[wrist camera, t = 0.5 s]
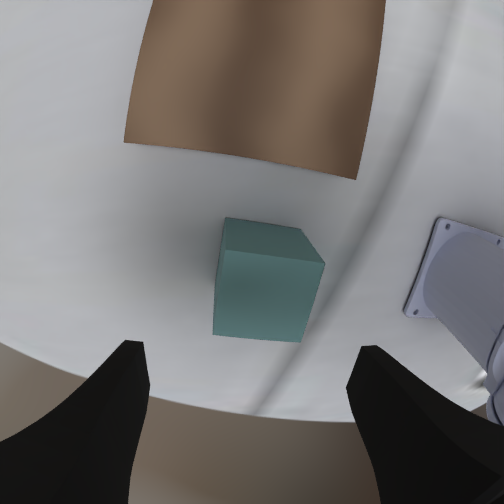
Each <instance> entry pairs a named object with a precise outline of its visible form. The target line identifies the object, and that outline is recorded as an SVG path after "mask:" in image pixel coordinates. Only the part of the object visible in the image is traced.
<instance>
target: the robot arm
mask: <svg viewBox="0 0 504 504" xmlns="http://www.w3.org/2000/svg"><path fill="white" fill-rule="evenodd" d="M446 224H447V227H446V228H445V226H446ZM414 311H415V312H414ZM404 314H405V315H406V316H407V317H417V318H438V319H439V320H440V321H441V322H442V323H443V324H444V325H445V326H446V327H447V329H448V330H449V331H450V332H451V333H452V334H453V335H454V336H455V337H456V338H457V339H458V341H459V342H460V343H461V344H462V345H463V346H464V347H465V348H466V349H467V351H468V352H469V353H470V354H471V355H472V356H473V357H474V359H475V360H476V361H477V362H478V363H479V364H480V365H481V367H482V368H483V369H484V370H485V371H486V373H487V377H486V379H485V381H484V383H483V385H484V386H485V388H486V389H487V390H488V391H489V393H490V396H489V398H488V401H487V409H486V410H487V416H488V420H486V419H484V418H482V417H479V416H477V415H475V414H473V413H471V412H470V411H468V410H466V409H464V408H462V407H461V406H459V405H457V404H455V403H454V402H452V401H450V400H449V399H447V398H446V397H444V396H443V395H441V394H440V393H438V392H437V391H436V390H434V389H433V388H431V387H430V386H429V385H427V384H426V383H425V382H423V381H422V380H421V379H419V378H418V377H417V376H415V375H414V374H413V373H412V372H410V371H409V370H408V369H407V368H405V367H404V366H403V365H402V364H400V363H399V362H398V361H397V360H395V359H394V358H393V357H392V356H390V355H389V354H388V353H387V352H385V351H384V350H383V349H381V348H380V347H378V346H377V345H372V346H361V349H360V352H359V354H358V357H357V360H356V363H355V365H354V368H353V371H352V373H351V376H350V378H349V381H348V383H347V386H346V390H347V394H348V399H349V403H350V407H351V411H352V414H353V416H354V419H355V421H356V424H357V426H358V429H359V432H360V434H361V437H362V438H363V442H364V444H365V446H366V449H367V452H368V454H369V457H370V460H371V463H372V466H373V469H374V472H375V477H376V481H377V486H378V490H379V495H380V501H381V504H504V237H502V236H499V235H496V234H493V233H490V232H487V231H484V230H481V229H478V228H475V227H472V226H469V225H466V224H462V223H459V222H456V221H453V220H449V219H446V218H443V217H441V218H439V219H438V220H437V221H436V224H435V227H434V231H433V234H432V237H431V240H430V243H429V246H428V249H427V252H426V255H425V258H424V260H423V263H422V266H421V269H420V271H419V274H418V277H417V279H416V282H415V285H414V287H413V290H412V292H411V295H410V297H409V299H408V302H407V304H406V307H405V309H404ZM149 391H150V382H149V376H148V370H147V364H146V358H145V351H144V344H143V342H140V341H130V340H125V341H124V342H122V343H121V345H120V346H119V347H118V348H117V349H116V350H115V351H114V352H113V353H112V354H111V355H110V356H109V357H108V358H107V359H106V361H105V362H104V363H103V364H102V365H101V366H100V367H99V368H98V369H97V370H96V371H95V372H94V373H93V374H92V375H91V376H90V377H89V378H88V379H87V380H86V381H85V382H84V383H83V384H82V385H81V386H80V387H79V388H77V389H76V390H75V391H74V392H73V393H72V394H71V395H70V396H69V397H68V398H66V399H65V400H64V401H63V402H62V403H60V404H59V405H58V406H57V407H55V408H54V409H53V410H52V411H50V412H49V413H48V414H46V415H45V416H44V417H42V418H41V419H39V420H38V421H36V422H35V423H33V424H31V425H30V426H28V427H26V428H25V429H23V430H22V431H20V432H18V433H17V434H15V435H13V436H11V437H9V438H7V439H5V440H3V441H1V442H0V504H128V496H129V486H130V476H131V471H132V466H133V461H134V458H135V454H136V450H137V446H138V442H139V438H140V434H141V431H142V427H143V423H144V419H145V415H146V411H147V404H148V398H149Z"/></svg>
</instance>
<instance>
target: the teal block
mask: <svg viewBox="0 0 504 504" xmlns="http://www.w3.org/2000/svg"><path fill="white" fill-rule="evenodd" d="M324 266H325V262H324V261H323V260H322V258H321V257H320V255H319V254H318V253H317V251H316V250H315V248H314V247H313V246H312V244H311V243H310V241H309V240H308V239H307V237H306V236H305V235H304V233H303V232H302V231H301V229H296V228H290V227H284V226H277V225H271V224H265V223H258V222H252V221H245V220H238V219H231V218H225V223H224V229H223V236H222V242H221V249H220V255H219V262H218V268H217V275H216V282H215V293H214V313H213V335H220V336H229V337H238V338H248V339H260V340H272V341H285V342H301V340H302V337H303V334H304V331H305V328H306V325H307V322H308V318H309V315H310V312H311V309H312V306H313V303H314V299H315V296H316V293H317V290H318V286H319V283H320V279H321V276H322V273H323V269H324Z"/></svg>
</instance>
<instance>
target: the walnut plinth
mask: <svg viewBox="0 0 504 504" xmlns="http://www.w3.org/2000/svg"><path fill="white" fill-rule="evenodd" d="M385 3H386V0H153V4H152V7H151V10H150V14H149V17H148V21H147V24H146V28H145V32H144V36H143V40H142V44H141V48H140V52H139V56H138V61H137V66H136V70H135V75H134V80H133V85H132V91H131V96H130V102H129V108H128V114H127V121H126V128H125V135H124V143H135V144H147V145H157V146H167V147H176V148H184V149H193V150H200V151H208V152H215V153H222V154H228V155H235V156H241V157H247V158H253V159H259V160H264V161H270V162H275V163H280V164H286V165H291V166H296V167H301V168H305V169H310V170H315V171H319V172H324V173H328V174H333V175H337V176H341V177H345V178H349V179H354V180H356V178H357V173H358V169H359V165H360V160H361V156H362V151H363V146H364V142H365V137H366V132H367V127H368V122H369V116H370V111H371V105H372V100H373V94H374V88H375V82H376V76H377V69H378V63H379V55H380V48H381V40H382V32H383V23H384V14H385Z"/></svg>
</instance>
